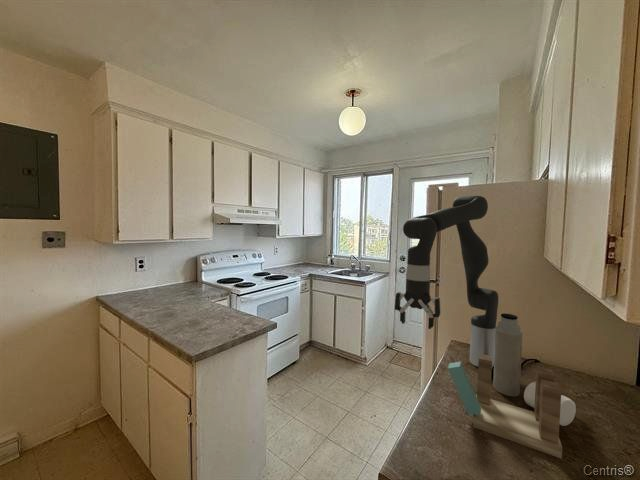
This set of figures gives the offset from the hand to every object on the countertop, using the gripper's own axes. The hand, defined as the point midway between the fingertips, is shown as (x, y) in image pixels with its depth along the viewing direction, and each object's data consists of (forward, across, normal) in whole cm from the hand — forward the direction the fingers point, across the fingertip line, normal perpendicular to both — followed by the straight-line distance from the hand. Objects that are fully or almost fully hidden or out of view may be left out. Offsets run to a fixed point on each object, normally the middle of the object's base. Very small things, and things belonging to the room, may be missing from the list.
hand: (416, 325), depth 89 cm
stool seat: (+26, -28, -4) cm, 38 cm away
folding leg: (+23, -18, 0) cm, 30 cm away
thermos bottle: (+26, -28, -26) cm, 46 cm away
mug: (+26, -39, -18) cm, 51 cm away
